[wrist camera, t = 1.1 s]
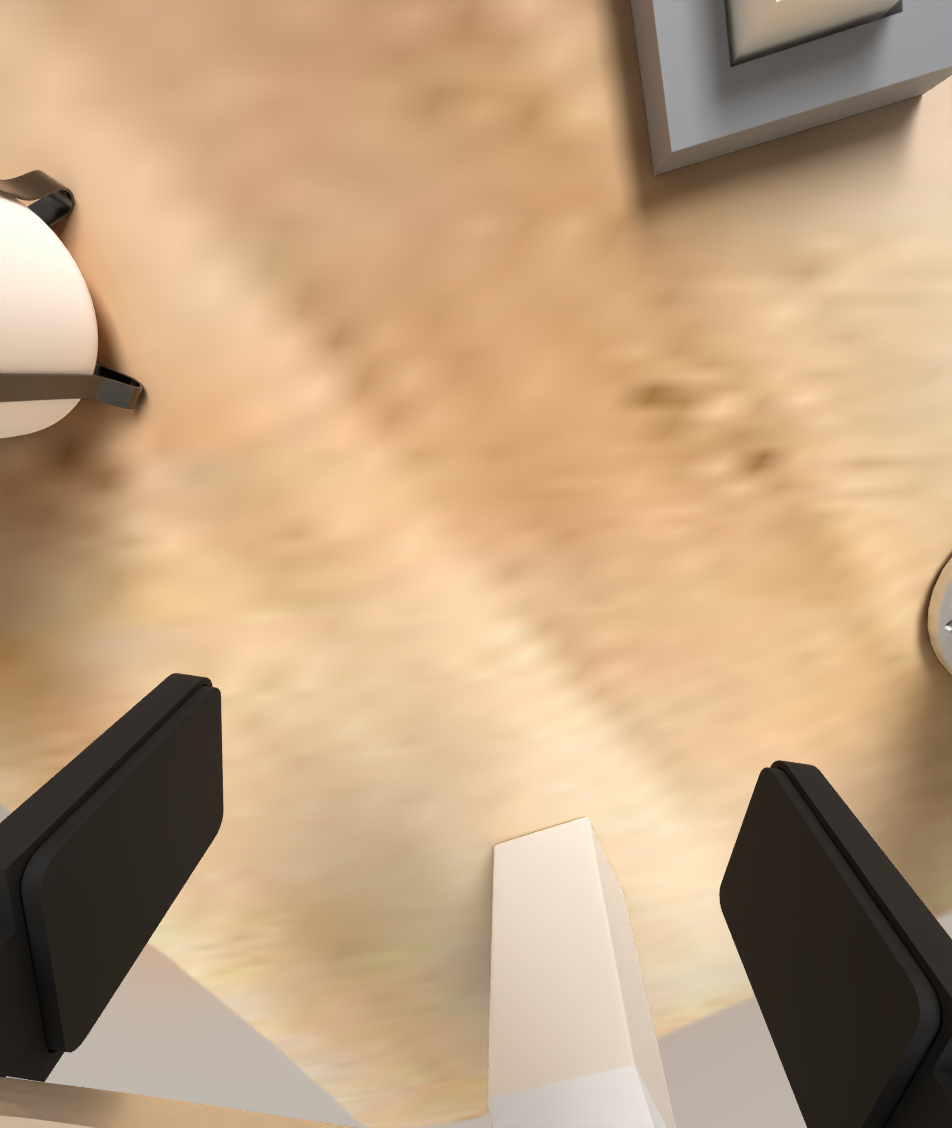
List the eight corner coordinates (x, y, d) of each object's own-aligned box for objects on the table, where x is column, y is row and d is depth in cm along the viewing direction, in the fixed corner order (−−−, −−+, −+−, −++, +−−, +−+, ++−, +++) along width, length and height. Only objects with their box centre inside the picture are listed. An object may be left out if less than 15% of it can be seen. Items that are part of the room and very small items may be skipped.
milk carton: (493, 843, 40) (482, 1224, 22) (587, 813, 39) (658, 1192, 21) (531, 913, 42) (550, 1317, 24) (622, 887, 41) (714, 1292, 23)
